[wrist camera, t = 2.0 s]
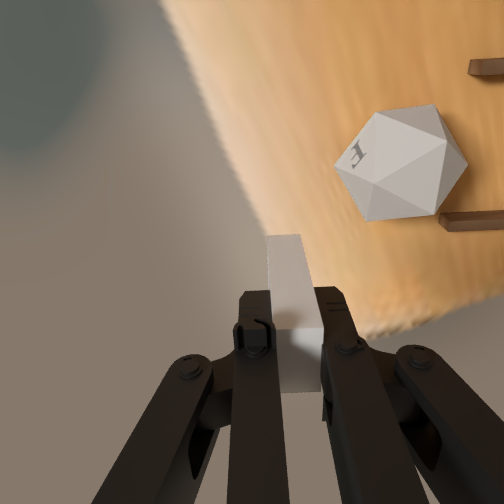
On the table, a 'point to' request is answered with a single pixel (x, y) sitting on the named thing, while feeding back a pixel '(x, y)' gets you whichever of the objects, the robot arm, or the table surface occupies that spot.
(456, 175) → the die
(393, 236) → the table surface
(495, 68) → the grey brown u-shaped frame
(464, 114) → the table surface
